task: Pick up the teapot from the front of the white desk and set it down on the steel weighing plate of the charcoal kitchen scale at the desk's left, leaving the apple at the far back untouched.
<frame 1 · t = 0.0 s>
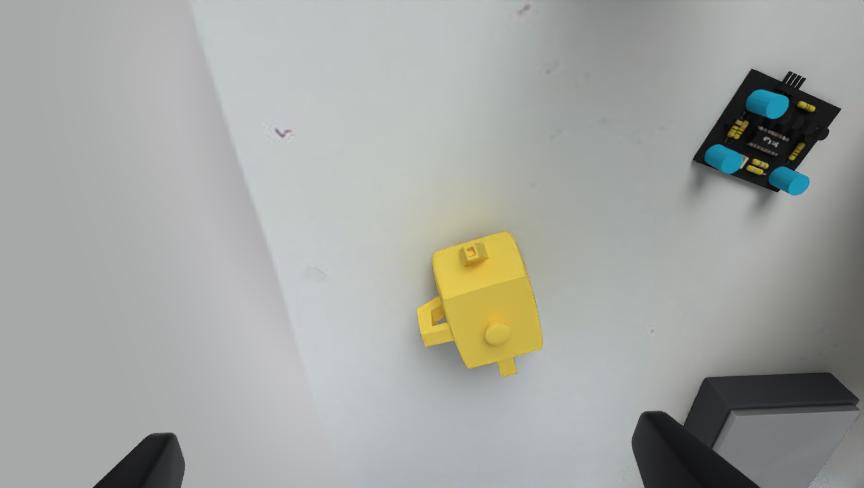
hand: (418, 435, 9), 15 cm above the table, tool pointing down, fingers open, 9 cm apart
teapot: (466, 270, 26), on the table
scale: (739, 430, 35), on the table
circuit board: (764, 127, 24), on the table
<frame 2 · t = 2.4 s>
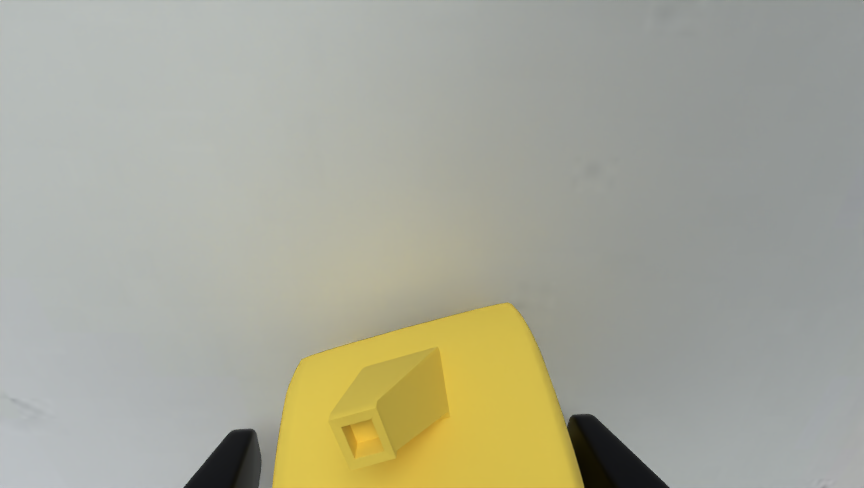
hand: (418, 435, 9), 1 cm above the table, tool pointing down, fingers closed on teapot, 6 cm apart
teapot: (403, 386, 10), on the table, touching gripper
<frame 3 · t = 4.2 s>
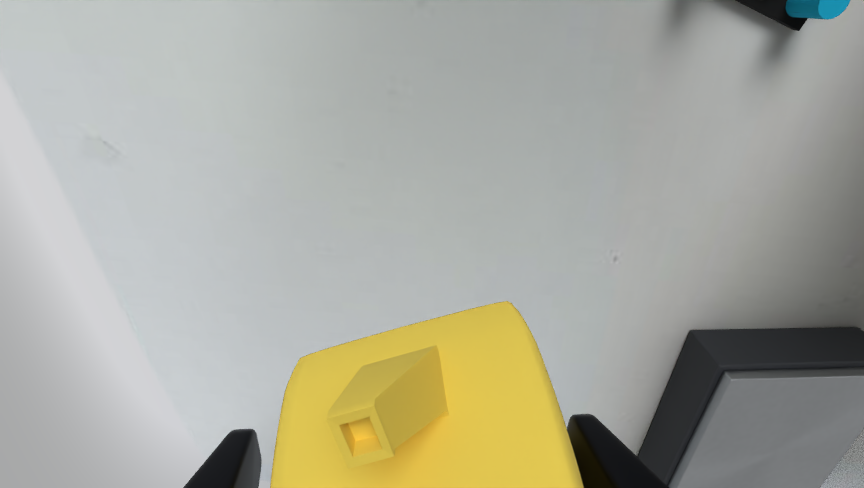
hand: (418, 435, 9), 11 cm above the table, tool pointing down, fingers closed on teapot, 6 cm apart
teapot: (402, 384, 10), point 10 cm above the table, touching gripper
scale: (734, 405, 27), on the table
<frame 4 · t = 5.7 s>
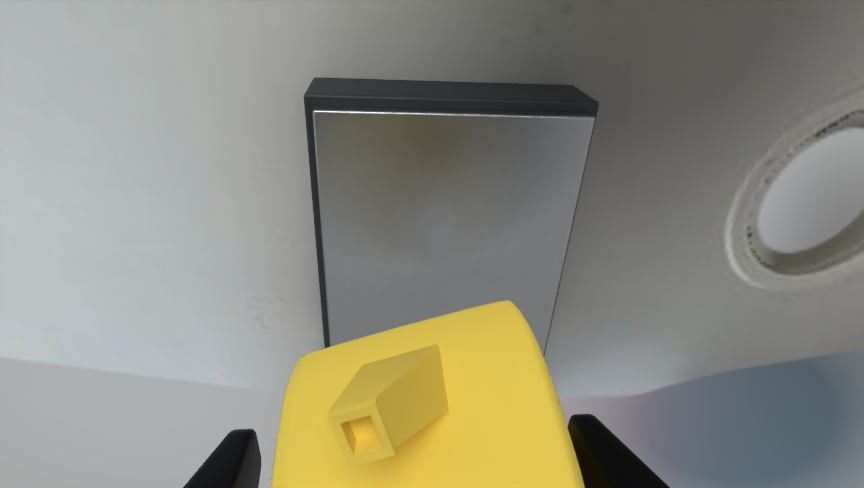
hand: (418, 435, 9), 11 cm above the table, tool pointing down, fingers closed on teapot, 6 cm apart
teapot: (403, 384, 10), point 10 cm above the table, touching gripper
scale: (438, 223, 19), on the table
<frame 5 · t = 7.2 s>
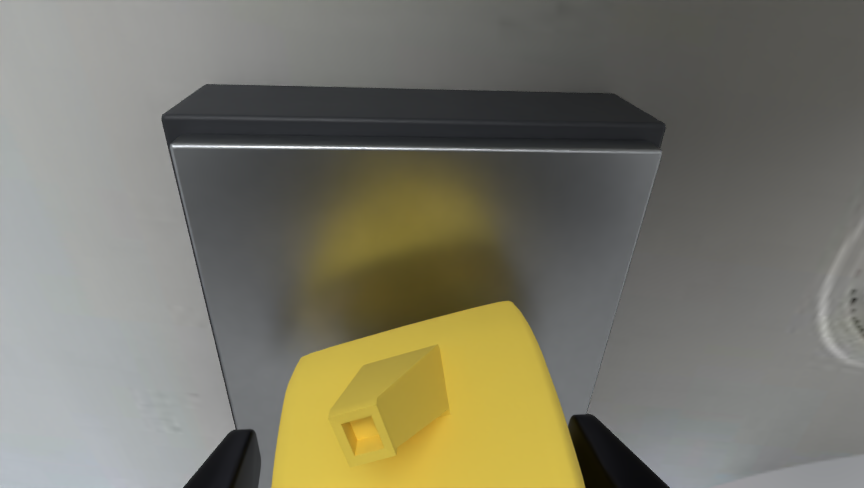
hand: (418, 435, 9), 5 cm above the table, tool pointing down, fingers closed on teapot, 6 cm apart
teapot: (403, 384, 10), point 3 cm above the table, touching gripper
scale: (412, 292, 13), on the table
when the fingers open (4 cm above the table, at t = 7.8 s): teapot stays where it is, resting on scale.
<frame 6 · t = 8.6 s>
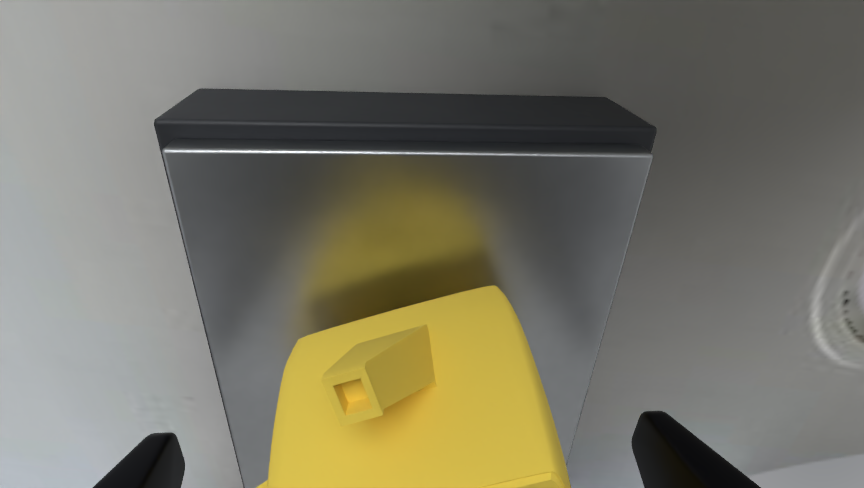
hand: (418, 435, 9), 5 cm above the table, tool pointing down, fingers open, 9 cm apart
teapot: (396, 368, 11), point 3 cm above the table, touching scale
scale: (407, 295, 13), on the table
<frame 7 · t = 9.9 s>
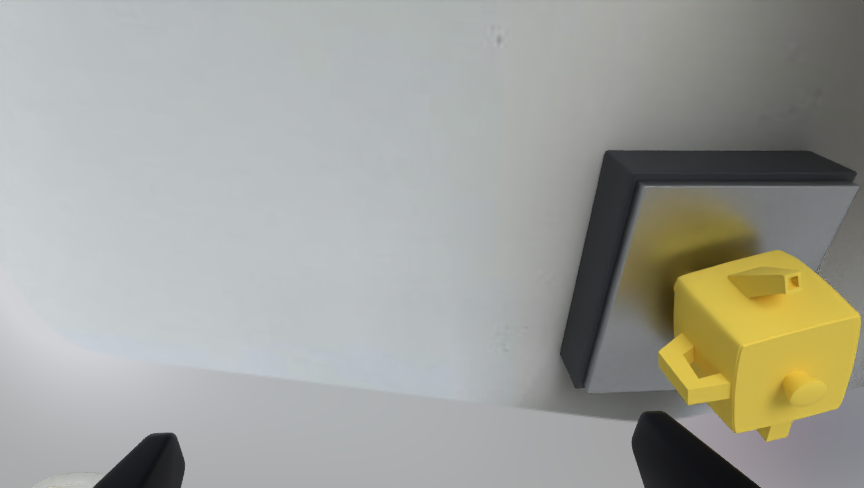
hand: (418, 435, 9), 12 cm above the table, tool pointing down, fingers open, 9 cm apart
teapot: (698, 297, 20), point 3 cm above the table, touching scale
scale: (672, 262, 23), on the table
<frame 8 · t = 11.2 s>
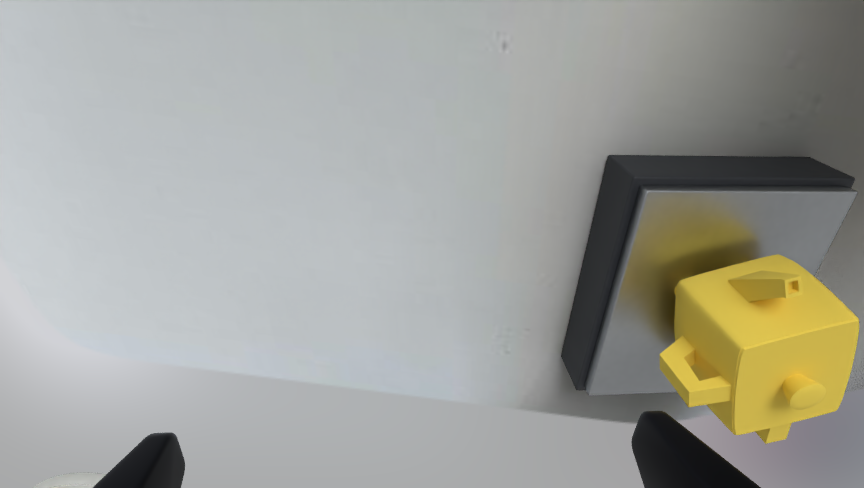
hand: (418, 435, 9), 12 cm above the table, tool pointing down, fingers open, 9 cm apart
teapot: (699, 301, 21), point 3 cm above the table, touching scale
scale: (672, 266, 23), on the table
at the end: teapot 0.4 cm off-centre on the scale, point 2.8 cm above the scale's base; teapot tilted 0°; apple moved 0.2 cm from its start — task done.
